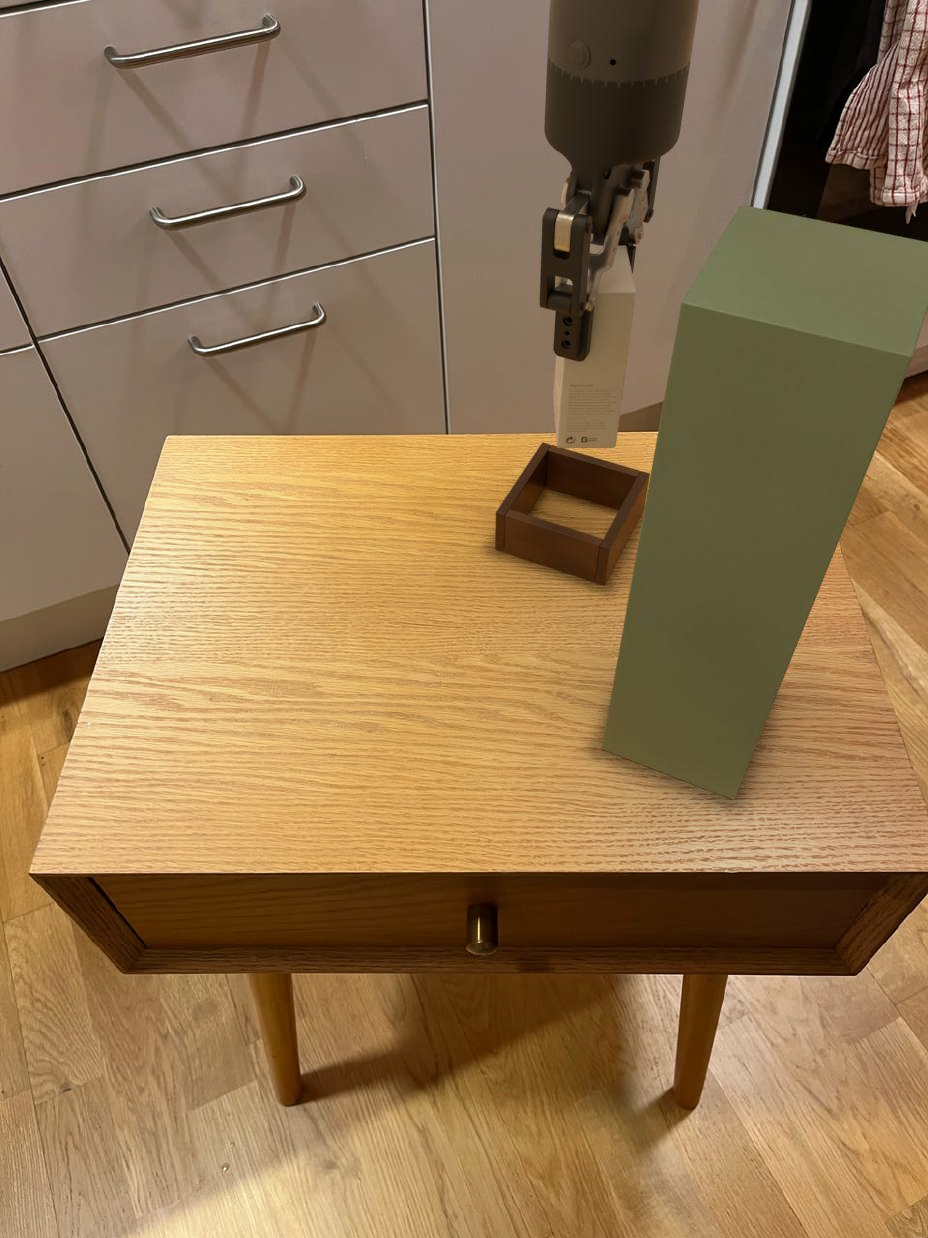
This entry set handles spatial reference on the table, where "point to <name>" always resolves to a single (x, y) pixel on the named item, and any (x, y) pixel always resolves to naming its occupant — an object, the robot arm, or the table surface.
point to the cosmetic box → (598, 365)
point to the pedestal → (756, 478)
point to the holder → (562, 543)
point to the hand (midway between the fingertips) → (592, 324)
